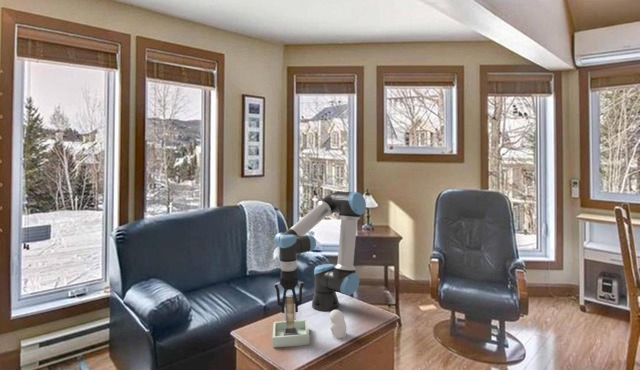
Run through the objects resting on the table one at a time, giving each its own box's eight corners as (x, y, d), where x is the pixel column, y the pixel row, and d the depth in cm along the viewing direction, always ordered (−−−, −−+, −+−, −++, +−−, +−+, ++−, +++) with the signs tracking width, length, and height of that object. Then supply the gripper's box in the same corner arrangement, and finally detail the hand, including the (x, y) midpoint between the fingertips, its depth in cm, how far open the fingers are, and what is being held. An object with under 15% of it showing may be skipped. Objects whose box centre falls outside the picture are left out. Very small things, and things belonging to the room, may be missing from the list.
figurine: (330, 331, 173) (329, 307, 172) (346, 331, 173) (345, 306, 172) (330, 339, 166) (329, 313, 165) (346, 338, 166) (346, 313, 165)
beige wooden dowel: (286, 325, 169) (285, 295, 169) (294, 324, 170) (293, 295, 169) (286, 328, 166) (285, 298, 165) (294, 328, 166) (293, 298, 166)
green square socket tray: (273, 331, 175) (273, 321, 175) (307, 328, 177) (306, 319, 177) (272, 347, 160) (272, 337, 159) (309, 344, 161) (309, 335, 161)
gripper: (270, 272, 162) (271, 324, 163) (307, 270, 163) (308, 321, 165) (270, 267, 169) (272, 317, 171) (306, 266, 171) (307, 314, 172)
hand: (290, 319), depth 168 cm, fingers closed on beige wooden dowel, 3 cm apart
